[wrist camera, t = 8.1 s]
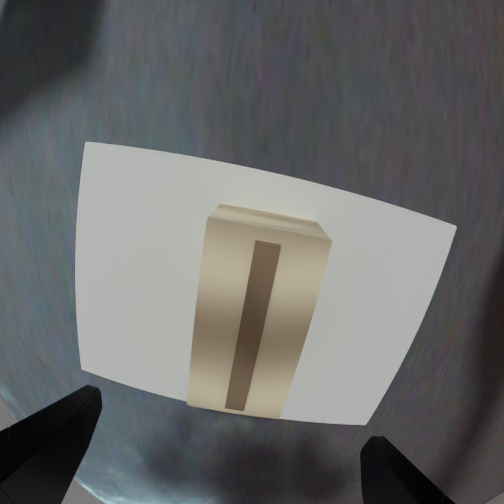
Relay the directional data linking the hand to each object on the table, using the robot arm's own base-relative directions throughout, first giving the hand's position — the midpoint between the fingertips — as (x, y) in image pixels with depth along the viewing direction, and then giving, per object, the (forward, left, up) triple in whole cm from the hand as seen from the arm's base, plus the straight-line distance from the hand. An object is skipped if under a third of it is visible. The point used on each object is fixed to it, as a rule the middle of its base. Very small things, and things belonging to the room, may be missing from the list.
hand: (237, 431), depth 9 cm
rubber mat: (0, +1, -10) cm, 10 cm away
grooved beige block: (0, 0, -9) cm, 9 cm away
